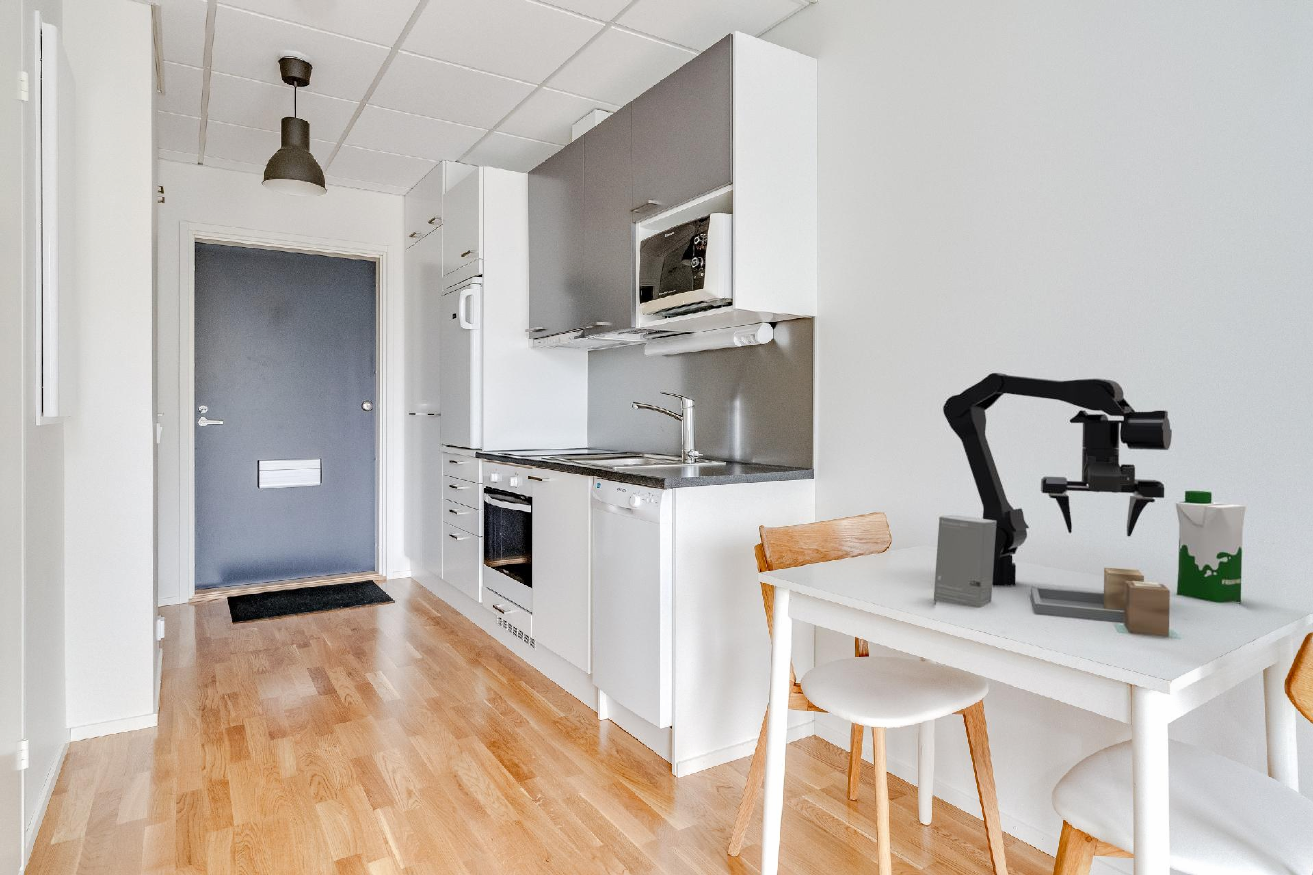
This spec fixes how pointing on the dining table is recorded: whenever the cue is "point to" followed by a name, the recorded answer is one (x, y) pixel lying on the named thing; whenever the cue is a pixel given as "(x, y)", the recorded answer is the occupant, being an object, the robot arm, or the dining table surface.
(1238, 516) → the milk carton
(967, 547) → the skincare box
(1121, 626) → the teal pad
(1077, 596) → the tray
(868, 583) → the dining table surface
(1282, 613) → the dining table surface
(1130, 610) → the walnut box
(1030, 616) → the dining table surface
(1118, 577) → the oak box
